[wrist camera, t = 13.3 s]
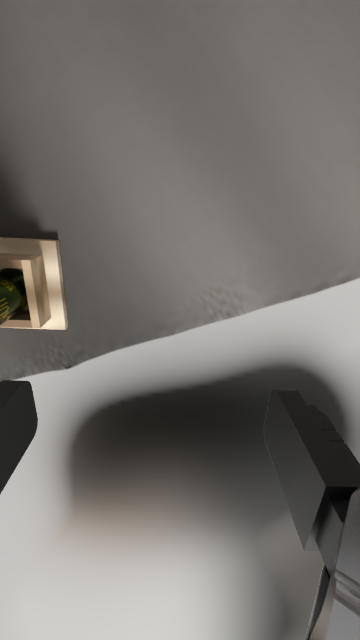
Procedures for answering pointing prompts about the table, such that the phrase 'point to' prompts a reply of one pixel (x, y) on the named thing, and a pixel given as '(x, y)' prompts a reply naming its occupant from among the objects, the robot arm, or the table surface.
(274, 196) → the table surface
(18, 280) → the green metal cylinder
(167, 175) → the table surface
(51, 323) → the wooden dispenser stand
